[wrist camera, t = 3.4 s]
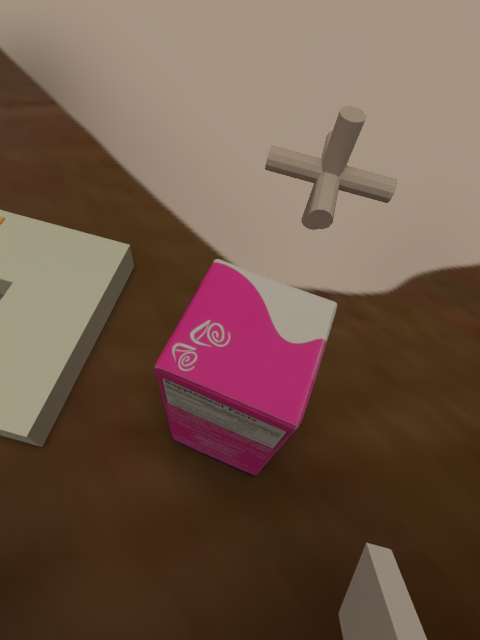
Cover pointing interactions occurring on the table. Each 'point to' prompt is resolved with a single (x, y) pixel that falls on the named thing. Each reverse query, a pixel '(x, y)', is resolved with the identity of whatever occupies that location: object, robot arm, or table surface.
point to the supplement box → (242, 365)
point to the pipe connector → (332, 171)
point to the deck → (50, 316)
